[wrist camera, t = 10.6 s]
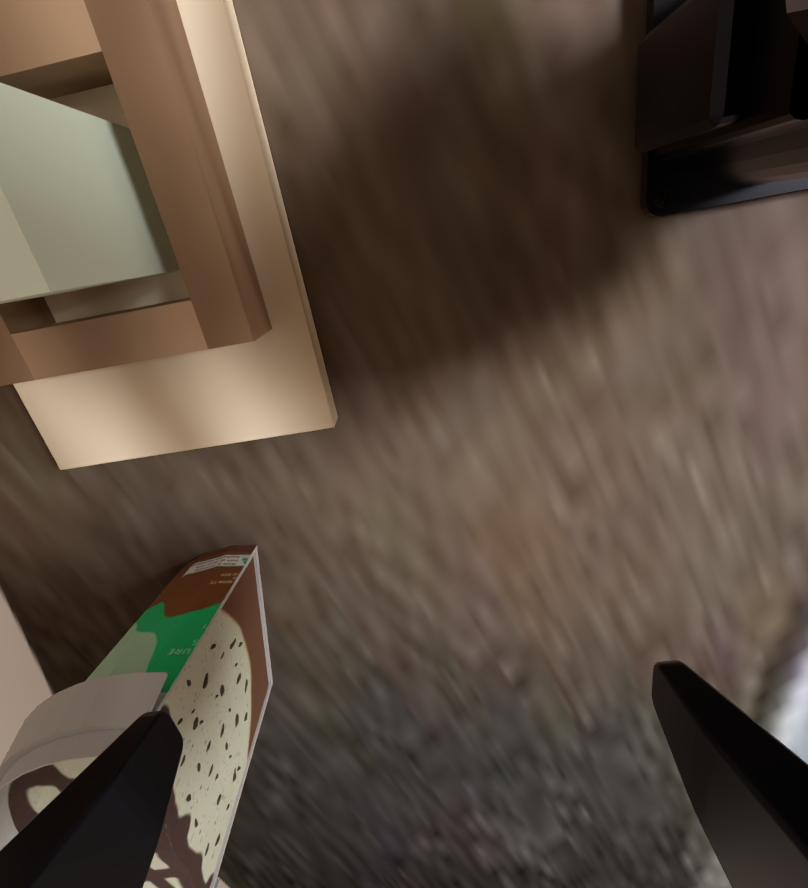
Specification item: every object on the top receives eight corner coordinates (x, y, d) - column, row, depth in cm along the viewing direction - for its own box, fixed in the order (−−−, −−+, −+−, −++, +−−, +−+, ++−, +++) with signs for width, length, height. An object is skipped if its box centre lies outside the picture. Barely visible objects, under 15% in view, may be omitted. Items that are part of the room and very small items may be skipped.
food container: (118, 511, 21) (-114, 729, 12) (253, 518, 21) (126, 742, 12) (166, 695, 26) (31, 945, 17) (275, 700, 26) (198, 954, 17)
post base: (179, -205, 11) (106, -341, 9) (338, 417, 18) (324, 449, 16) (-213, -87, 13) (-386, -175, 10) (77, 458, 20) (22, 495, 17)
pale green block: (130, 129, 14) (-59, 61, 8) (181, 270, 15) (50, 291, 10) (9, 156, 14) (-249, 109, 9) (71, 291, 16) (-113, 323, 10)
